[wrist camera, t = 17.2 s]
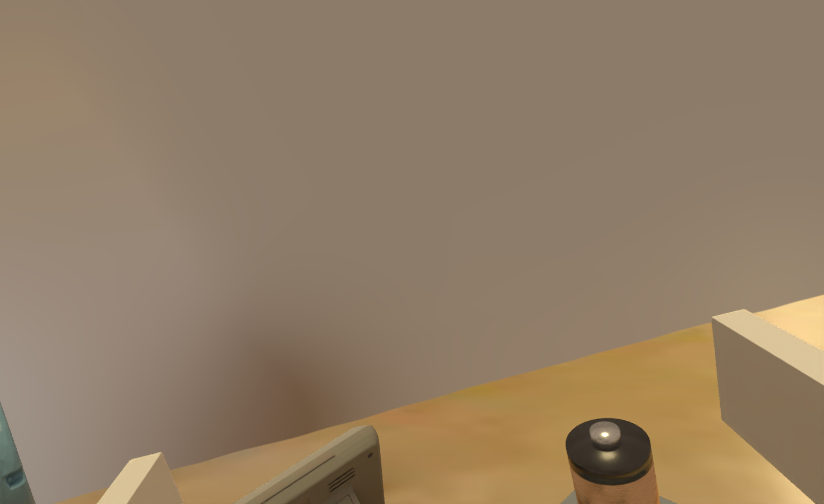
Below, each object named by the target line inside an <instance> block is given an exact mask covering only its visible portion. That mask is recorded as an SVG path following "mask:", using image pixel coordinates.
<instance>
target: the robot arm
mask: <svg viewBox="0 0 824 504" xmlns="http://www.w3.org/2000/svg"><path fill="white" fill-rule="evenodd" d="M711 318H712V328H713V338H714V348H715V358H716V368H717V378H718V387H719V397H720V407H721V417H722V420H723V421H724V422H725V423H726V424H727V425H728V426H729V427H731V428H732V429H733V430H734V431H735V432H736V433H737V434H738V435H740V436H741V437H742V438H743V439H744V440H745V441H746V442H747V443H748V444H750V445H751V446H752V447H753V448H754V449H755V450H756V451H757V452H758V453H760V454H761V455H762V456H763V457H764V458H765V459H766V460H767V461H769V462H770V463H771V464H772V465H773V466H774V467H775V468H776V469H777V470H779V471H780V472H781V473H782V474H783V475H784V476H785V477H786V478H788V479H789V480H790V481H791V482H792V483H793V484H794V485H795V486H796V487H798V488H799V489H800V490H801V491H802V492H803V493H804V494H805V495H807V496H808V497H809V498H810V499H811V500H812V501H813V502H814V503H815V504H824V351H822V350H821V349H819V348H817V347H815V346H813V345H811V344H809V343H807V342H805V341H804V340H802V339H800V338H798V337H796V336H794V335H792V334H790V333H788V332H787V331H785V330H783V329H781V328H779V327H777V326H775V325H773V324H771V323H770V322H768V321H766V320H764V319H762V318H760V317H758V316H756V315H755V314H753V313H751V312H749V311H747V310H745V309H742V310H738V311H734V312H730V313H726V314H722V315H718V316H713V317H711ZM0 504H35V501H34V498H33V495H32V492H31V489H30V487H29V484H28V481H27V479H26V476H25V472H24V469H23V466H22V463H21V461H20V458H19V455H18V452H17V449H16V446H15V443H14V440H13V437H12V434H11V432H10V428H9V426H8V423H7V420H6V417H5V414H4V411H3V409H2V406H1V403H0ZM97 504H184V502H183V500H182V498H181V495H180V493H179V491H178V488H177V486H176V484H175V481H174V479H173V477H172V474H171V472H170V470H169V468H168V465H167V463H166V461H165V458H164V456H163V454H162V452H160V453H156V454H152V455H148V456H144V457H139V458H135V459H132V460H130V461H129V462H128V464H127V465H126V466H125V467H124V469H123V470H122V471H121V473H120V474H119V475H118V477H117V478H116V479H115V481H114V482H113V483H112V485H111V486H110V487H109V489H108V490H107V491H106V493H105V494H104V495H103V497H102V498H101V499H100V501H99V502H98V503H97Z"/></svg>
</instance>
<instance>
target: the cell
mask: <svg viewBox="0 0 824 504" xmlns="http://www.w3.org/2000/svg"><path fill="white" fill-rule="evenodd" d="M566 450H567V455H568V459H569V464H570V469H571V474H572V478H573V483H574V488H575V493H576V497H577V502H578V504H660V500H659V493H658V487H657V481H656V475H655V469H654V463H653V457H652V451H651V444H650V440H649V437H648V435H647V434H646V432H645V431H644V430H643V429H642V428H640V427H639V426H637V425H635V424H633V423H631V422H628V421H625V420H621V419H614V418H601V419H594V420H590V421H587V422H584V423H582V424H580V425H578V426H577V427H575V428H574V429H573V430H572V431H571V432H570V433H569V434H568V436H567V439H566Z"/></svg>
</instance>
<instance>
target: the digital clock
mask: <svg viewBox="0 0 824 504" xmlns="http://www.w3.org/2000/svg"><path fill="white" fill-rule="evenodd" d="M233 504H385V502H384V490H383V479H382V468H381V457H380V446H379V439H378V435H377V432H376V430H375V429H374V428H373V426H371V425H367V426H357V427H354V428H352V429H350V430H349V431H347V432H345V433H344V434H342V435H340V436H339V437H337V438H336V439H334V440H333V441H331V442H329V443H328V444H326V445H325V446H323V447H321V448H320V449H318V450H317V451H315V452H314V453H312V454H310V455H309V456H307V457H306V458H304V459H303V460H301V461H299V462H298V463H296V464H295V465H293V466H292V467H290V468H288V469H287V470H285V471H284V472H282V473H281V474H279V475H277V476H276V477H274V478H273V479H271V480H269V481H268V482H266V483H265V484H263V485H262V486H260V487H258V488H257V489H255V490H254V491H252V492H251V493H249V494H247V495H246V496H244V497H243V498H241V499H240V500H238V501H236V502H235V503H233Z"/></svg>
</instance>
